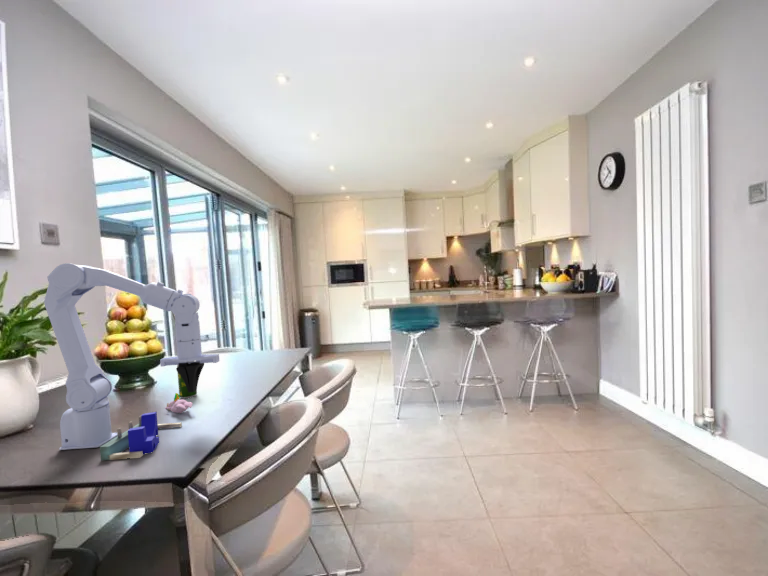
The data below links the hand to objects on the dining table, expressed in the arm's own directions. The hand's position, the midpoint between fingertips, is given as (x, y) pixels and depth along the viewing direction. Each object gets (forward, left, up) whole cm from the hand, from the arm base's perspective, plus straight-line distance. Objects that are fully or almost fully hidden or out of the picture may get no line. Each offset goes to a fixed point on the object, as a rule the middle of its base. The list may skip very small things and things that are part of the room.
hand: (192, 391), depth 100 cm
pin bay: (-8, -8, -9) cm, 15 cm away
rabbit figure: (-11, +13, -10) cm, 19 cm away
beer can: (-16, +29, -10) cm, 34 cm away
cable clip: (-7, -10, -10) cm, 15 cm away
